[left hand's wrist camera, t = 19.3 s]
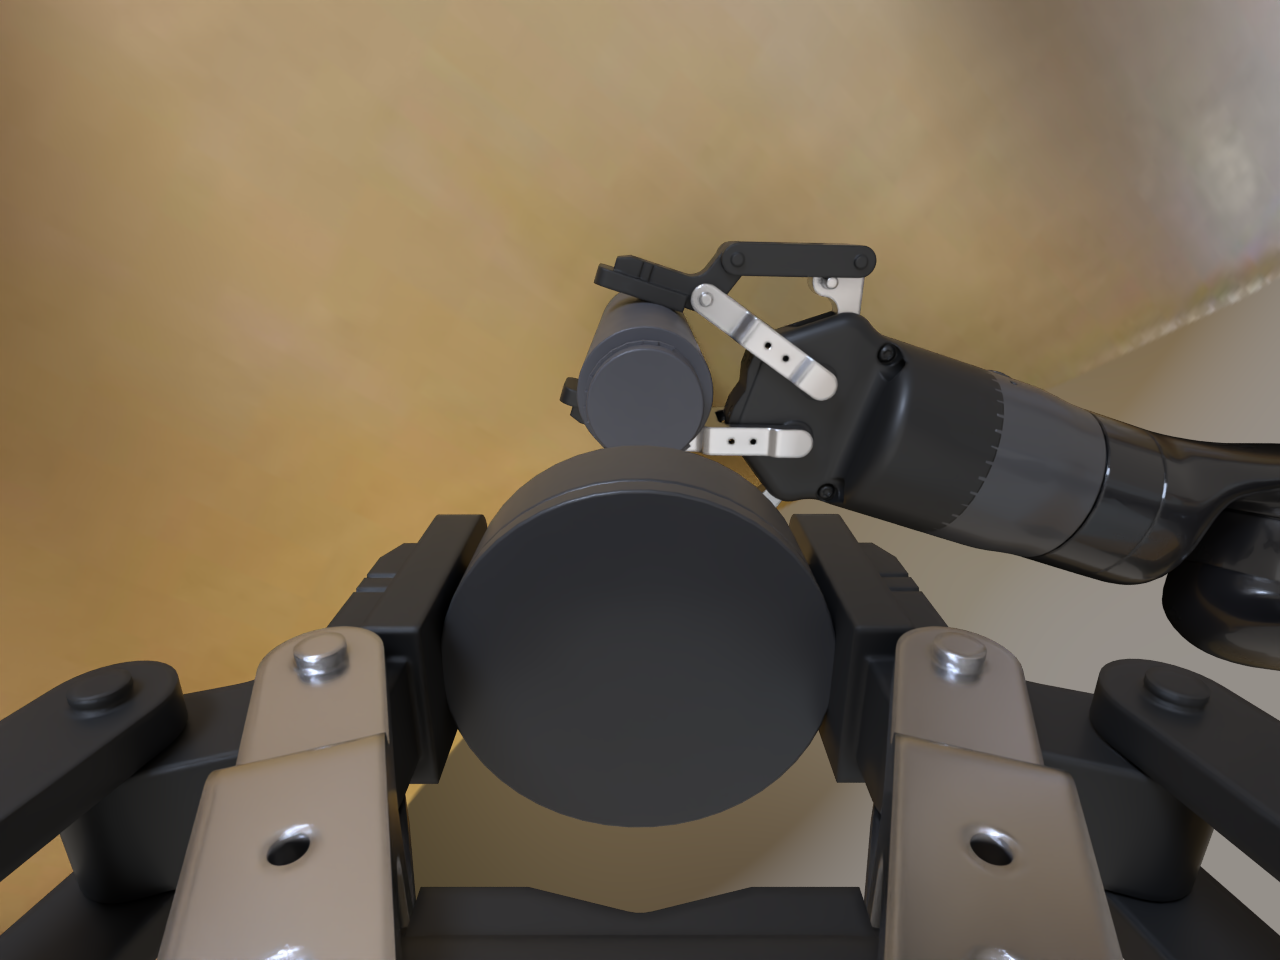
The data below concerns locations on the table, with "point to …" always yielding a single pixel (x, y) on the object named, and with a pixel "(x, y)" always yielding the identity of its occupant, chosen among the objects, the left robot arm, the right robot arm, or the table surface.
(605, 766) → the lid
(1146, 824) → the left robot arm
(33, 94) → the table surface
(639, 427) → the grey cylindrical tube
